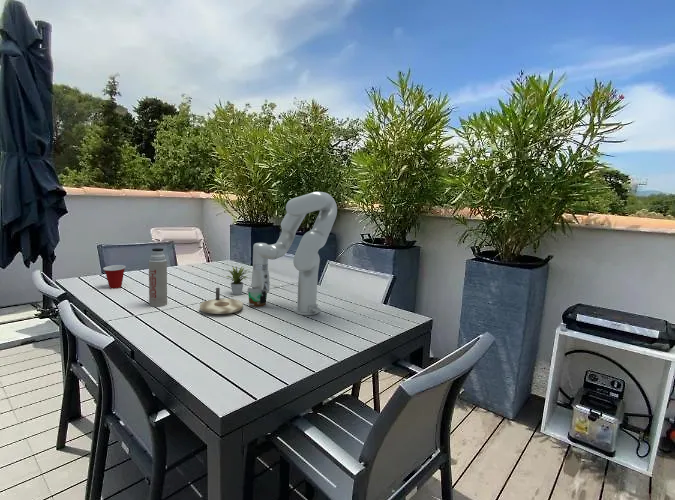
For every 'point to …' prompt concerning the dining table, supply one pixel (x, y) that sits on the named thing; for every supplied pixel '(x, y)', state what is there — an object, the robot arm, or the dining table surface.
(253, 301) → the food container
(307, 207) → the robot arm
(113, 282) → the plastic cup
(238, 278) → the house plant
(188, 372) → the dining table surface
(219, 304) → the turntable
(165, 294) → the thermos bottle
